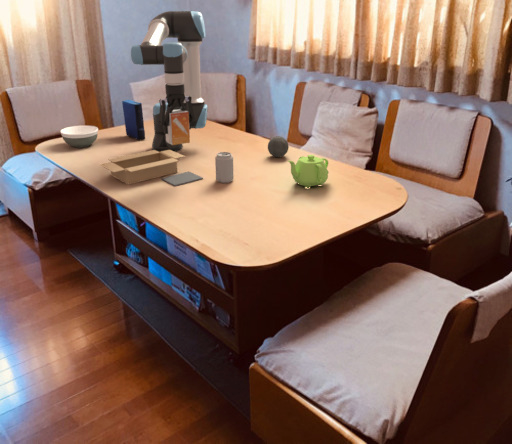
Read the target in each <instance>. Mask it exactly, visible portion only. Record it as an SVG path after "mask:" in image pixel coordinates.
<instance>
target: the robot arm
mask: <svg viewBox="0 0 512 444" xmlns="http://www.w3.org/2000/svg"><path fill="white" fill-rule="evenodd" d="M206 36H207V35H206V26H205V20H204V16H203V13H201V12H199V11H195V10H194V11H193V10H181V11H177V10H175V11H172V10H170V11H168V10H167V11H164V12H161V13H159V14H157V15H156V16H155V17H153V18H152V19H151V20H150V22H149V23H148V27H147V32H146V34H145V35H144V38H143V40H142V42H141V43H140V44H136V45H132V46H131V48H130V58H131V59H130V60H131V62H132V63H133V64H134V65H141V66H143V65H145V66H155V65H162V66H163V70H164V82H165V95H166V96H165V98H163V99H162V98H160V99H159V101H158V102H157V103H155V104H153V106H152V117H153V128H154V130H153V131H154V135H153V140H152V143H151V148H152V150H156V151H158V152H161V151H166V150H172V151H174V152H178V151H181V150H182V149H183V144H176V145H171V144H169V143H167V142H166V141H168V142H171V135H170V126H169V125H168V124H169V121H170V120H169V113H172V111H173V110H179V109H180V110H182V111H188V112H189V134H190V133H191V132H190V131H191V129H194V130H196V129H203V128H205V127H206V124H207V119H208V110H209V109H208V104H205V99H204V98H202V87H201V83H202V81H201V57H200V52H201V51H200V46H201V44H202V43H203V39H206ZM170 38H172V39H177V41H173V42H172V41H170V42H164V40H166V39H170ZM163 42H164V43H163ZM165 111H166V114H165ZM190 135H191V134H190Z"/></svg>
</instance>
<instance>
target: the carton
mask: <svg viewBox="0 0 512 444" xmlns="http://www.w3.org/2000/svg"><path fill="white" fill-rule="evenodd" d="M185 157H186V156H185V155H183V154H181V153H178V152H177V151H175V152H174V151H172V150H166V151H161V152H158V151H156V150H153V149H152V150H147V151H141V152H138V153H133V154H129V155H124V156H118V157H115V158H109V159H108V161H109V162H104V163H100V164H99V165H100V166H102V167H103V168H105V169H107V171H110V174H111V175H110V176H112V177H113V178H116V179H117V180H119V181H121V182H123V183H124V184H125V185H132V184H136V183H139V182H144V181H148V180H152V179H156V178H162V177H166V176H170V175H174V174H178V163H179V159H180V158H181V159H182V158H185Z"/></svg>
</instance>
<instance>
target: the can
mask: <svg viewBox="0 0 512 444" xmlns="http://www.w3.org/2000/svg"><path fill="white" fill-rule="evenodd" d="M214 159H215V161H214V162H215V180H216V181H217V182H218V183H221V184H229V183H231V182H233V180H234V177H235V175H234V156H233V155H232V153H231V152H229V151H220V152H217V153H216V156H215V158H214Z"/></svg>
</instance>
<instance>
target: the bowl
mask: <svg viewBox="0 0 512 444" xmlns="http://www.w3.org/2000/svg"><path fill="white" fill-rule="evenodd" d="M98 131H99V128H98V126H95V125H71V126H68V127H65V128H62V129H60V131H59V132H60V135H61V137H62V140H63V141H64V142H65V143H66V144H67V145H70V146H71V147H73V148H77V149H78V148H79V149H81V148H87V147H90V146H91V145H92V144H93V143H95V141H96V140H97V138H98Z"/></svg>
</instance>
